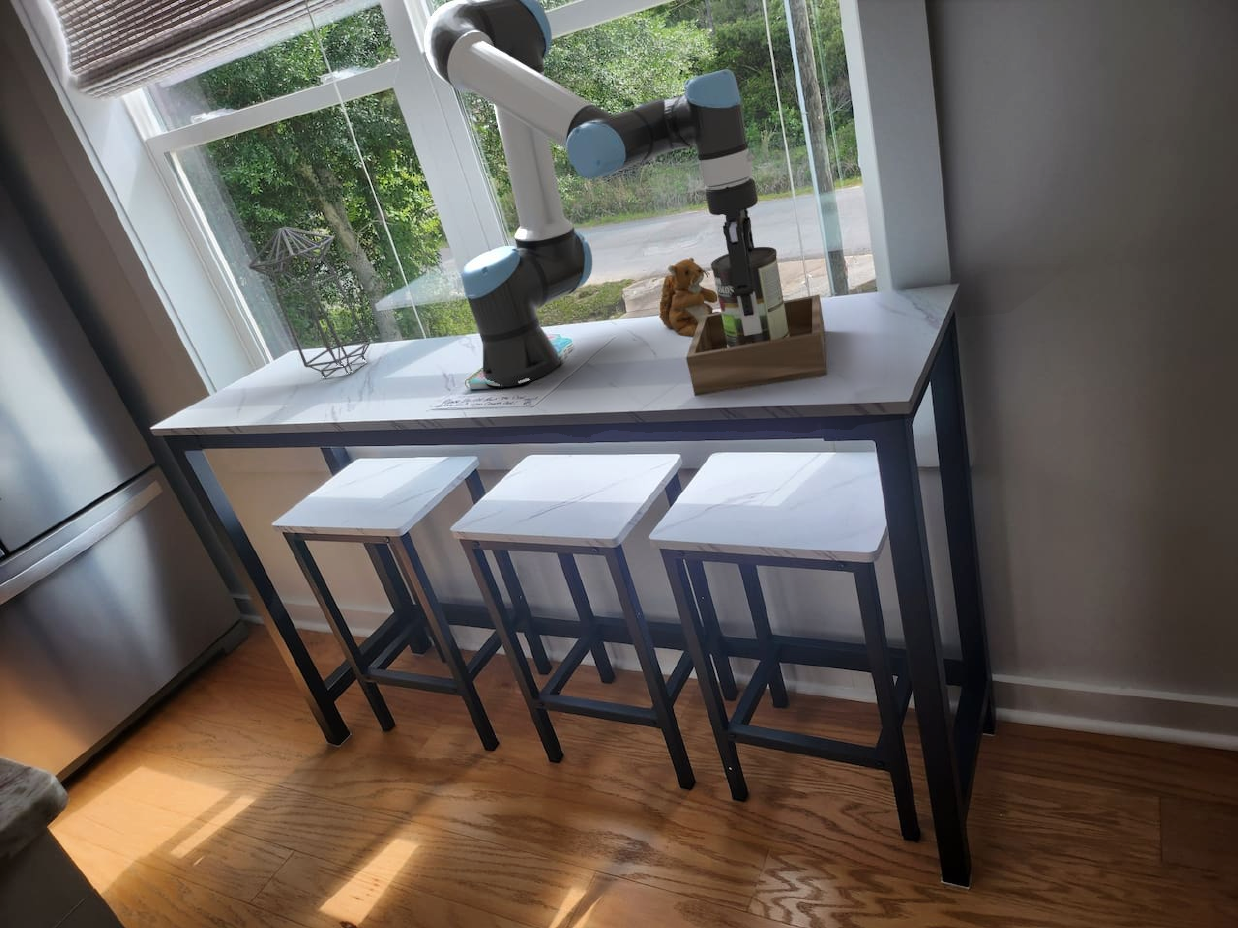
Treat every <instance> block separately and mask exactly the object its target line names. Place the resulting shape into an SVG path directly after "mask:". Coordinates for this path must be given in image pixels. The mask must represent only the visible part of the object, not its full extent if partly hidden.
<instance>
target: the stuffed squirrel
mask: <svg viewBox="0 0 1238 928" xmlns="http://www.w3.org/2000/svg"><path fill="white" fill-rule="evenodd" d="M694 261H695V259H694V257H690V258H688V259H687V258H685V259H682V260H680V261H679V262H677V263H675V264H674V265H669V266H668V267H667V269H668V270H667V271H669V272H670V274H667V275H666V276H664V281H663V282H664V283H663V285H662V288H661V292H662V294H661V301H660V302H659V312H660V313H659V316H658V318H659V319H660V320H661V321H662V323H663V325H665V326H666V327H667V328H670V329H674V331H675V332H676V334H678V335H681V336H685V337H686V336H687V337H694V334H695V331H696V329H697V326H698V323H699V320H700V318H701V316H704V315H709V314H715V313H720V312H721V311H714V312H713V309H714V308H713V307H712V306H711V305H710V304H711V303H712V304H714V303H716V302H718V295H717V292H716V291H714V290H712V289H708V288H706V287H704V286H701V285H700V284H701V283H702V282H703V281H704V278H705V275H706V278H709V276H710V275H711V274H710V273H709V272H708V271H707V270H705V269H703V268H702V267H701V266H700V265H698V263H696V262H694ZM706 302H708V303H710V304H708V303H706Z"/></svg>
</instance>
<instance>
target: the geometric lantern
mask: <svg viewBox="0 0 1238 928" xmlns="http://www.w3.org/2000/svg"><path fill="white" fill-rule="evenodd" d="M287 235H288V236H289V238H290V239H291V241H292V242H293V244H294V245H295V246H292V245H291V244H290V241H289V239H288V237H287ZM304 235H307V236H313V237H319V238H322V239H320V240H318V241H315V240H312V239H311V238H308V237H306V236H304ZM334 239H336V236H333V235H329V234H323V233H320V232H319V233H318V232H315V231H310V230H303V229H298V228H294V227H290V226H282V227H279V228H278V229H277V230H276V232H275V233H274V235H272V237H271V238H270V239H269V241H268V242H266V245H264V246H263V248H262V249H261V250H260V251H259V252H258V253H257V255H256V256H255V257H254V259H253V260H252V261H251V262H250V263H249V265H248V268H249V269H250V270H253V271H255V272H258V273H260V274H261V275H262V274H263V275H265V276H267V277H270V278H271V279H273V282H274V288H275V293H276V294H275V296H276V299H277V302H278V304H279V306H280V309H281V310H282V313H283V315H284V318H285V321H286V323H287V326H288V327H289V330H290V333H291V334H292V337H293V339H294V341H295V344H296V345H295V346H296V347H297V350H298V353H299V355H300V358H301V361H302V363H303V366H304V367H305V368H310V369H312V370H315V371H318V372H320V373H321V375H322V377H323V376H324V377H325V375H326V374H325V373H324V372H329V371H330V372H331V371H333V370H335V369H337V370H340V369H344V370H345V372H346V373H345V374H347V373H348V374H349V371H350V372H351V371H353V369H352V367H351V365H350V364H352V363H356V361H357V360H359V359H360V358H361V359H362V360H363V359H364V360H366V358H365V356H364V355H365V354H366V352H367V350H368V348H369V346H370V345H371V341H370V339H369V337H368V335H367V333H366V332H365V330H364V328H363V326H362V324H361V322H360V321H359V318H358V316H357V314H356V312H355V311H354V309H353V307H352V305H351V303H350V301H349V299H348V296H347V295H346V291H345V290H344V288H343V286H342V284H341V282H340V280H339V278H338V275H337V272H335V270H334V269H333V268H332V266H331V264H330V262H329V261H328V260H327V257H326V255H327V252H328V251H329V249H330V247H331V245H332V243H333V240H334ZM272 242H273V245H272V247H271V249H270V251H269V254H268V257H267V260H266V261H265V260H264V261H261V262H257V263H256V261H258V259H259V258H260V257H261V256H262V254H263V253H264V252H265V251H266V250H267V249H268V247H270V245H271V244H272ZM284 243H285V245H286V247H287V249H285V245H284ZM281 244H282V250H281V251H280V248H281ZM298 245H299V246H298ZM275 249H276V254H275V258H273V254H274V252H275ZM303 249H304V250H303ZM316 249H318V250H319V251H320V253H319V255H315V252H314V251H315V250H316ZM286 252H289V254H290V255H288V256H286V257H285V253H286ZM294 252H296V253H294ZM310 254H311V255H310ZM280 256H281V257H280ZM297 256H300V257H301V258H302V259H305V260H307V261H308V262H309V263H310V266H309V270H308V271H309V272H308V279H306V280H303V281H302V280H300V279H299V278H298V277H296V276H294V275H293V274H292V273H290V272H288V271H286V270H287V268H288V267H289V265H290V263H291V261H292V259H293V258H294V257H297ZM272 258H273V259H272ZM285 261H287V262H286V263H285V265H284V262H285ZM321 261H322V262H323V263H324V265H325V266H326V267H327V269H328V271H330V274H326V275H321V276H318V277H314V278H313V276H314V270H315V265H317V264H318V263H319V264H320V263H321ZM273 265H274V266H275V267H276V269H275V270H274V269H273V267H272V266H273ZM263 267H266V268H263ZM278 272H279V273H278ZM275 273H276V274H275ZM282 275H284V276H285V277H286V278H288V279H289V280H290V281H292V282H293V284H295V285H293V286H290V287H289V288H287V289H284V290H283V291H281V292H280V289H279V285H278V282H277V281H278V280H277V278H278V277H281V276H282ZM326 277H327V278H326ZM324 278H325V279H324ZM319 279H324V280H321V281H319V282H317V283H315V284H312V281H315V280H319ZM331 279H333V280H334V281H335V283H336V285H337V287H338V289H339V291H340V293H341V295H342V296H343V298H344V300H345V302H346V305H347V306H348V308H349V310H350V312H351V314H352V316H353V318H354V320H355V322H356V325H357V326H358V329H359V330H360V332H361V336H362V337H363V339H361V340H357V341H353V342H348V343H344V344H343V343H342V342H341V340H340V339H339V336H338V334H337V333H336V330H335V329H334V327H333V325H332V322H331V320H330V318H329V316H328V315H327V312H326V310H325V308H324V307H323V305H322V303H321V300H320V298H319V297H318V295H317V293H316V290H315V289H314V287H317V286H319V285H321V284H323V283H325V282H327V281H329V280H331ZM306 283H308V287H306V286H305V285H304V284H306ZM295 287H300V289H297V290H293V291H290V290H292V289H294V288H295ZM305 287H306V288H305ZM309 290H310V291H311V292H312V294H313V296H314V297H315V301H316V302H317V304H318V306H319V309H320V311H321V313H322V316H323V317H324V320H325V321H326V324H327V326H328V328H329V331H330V332H331V335H332V337H333V339H334V342H335V344H336V346H335V345H334V346H333V347H331V344H330V342H329V340H328V338H327V336H326V333H325V331H324V328H323V326H322V324H321V323H320V320H319V317H318V315H317V313H316V311H315V309H314V306H313V304H312V301H311V299H310V298H309V294H308V292H307V291H309ZM288 291H289V292H288ZM300 292H303V294H304V295H305V298H306V300H307V303H308V306H309V308H310V311H311V313H312V316H313V318H314V320H315V323H316V326H317V329H318V331H319V333H320V334H319V335H320V336H321V339H322V342H323V343H324V347H325V350H323V351H322V352H321V353H319V354H318V355H316V356H315V357H313V358H311V359H310V360H309V361H307V360H306V358H305V356H304V353H303V351H302V347H301V346H300V343H299V341H298V338H297V336H296V333H295V331H294V327H293V326H292V322H291V320H290V316H289V314H288V311H287V309H286V306H285V303H284V300H283V298H282V296H286V295H291V294H295V293H300ZM361 343H362V345H361V346H359V347H358V348H356V349H355V350H353V351H351V352H349V353H348V354H347V352H346V350H345V348H344V347H347V346H353V345H358V344H361ZM363 343H364V344H363ZM335 349H338V350H337V351H338V353H337V354H338V358H337V359H336V356H335V354H334V352H333V350H335ZM360 350H361V352H360V353H357V352H359V351H360ZM341 351H342V353H343V355H344V356H342V357H341ZM327 353H329V354H330V356H331V358H332V359H333V360H330V361H324V362H319V363H318V362H317V363H313V362H314V361H315V360H317V359H318V358H320V357H322V356H324V354H327ZM355 353H357V354H355ZM357 356H358V357H357ZM354 357H356V358H355V359H353V360H352V361H351V362H350V361H349V359H350V358H354ZM345 359H346V364H347V365H346V366H344V363H343V362H342V361H344V360H345ZM311 363H312V364H311ZM341 363H342V364H341ZM333 364H335V365H336V367H332V368H329V367H330V366H332V365H333ZM338 364H339V365H338ZM324 365H326V366H324ZM337 365H338V366H343V367H337ZM317 366H324V367H323V368H322V369H319V368H317ZM347 368H349V371H348V370H347ZM335 371H336V370H335Z"/></svg>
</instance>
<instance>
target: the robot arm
mask: <svg viewBox="0 0 1238 928" xmlns="http://www.w3.org/2000/svg"><path fill="white" fill-rule="evenodd" d="M552 37H553V35H552V28H551V24H550V21H549V18H548V16H547V13H546V11H545V10H544V8H543V7H542V6H541V4H540V3H539V1H537V0H451V1H448V2H446V3H444V4H443V5H442V6H440V7H439V8H437V9H436V11H434V12H433V14H432V16H431V17H430V19H428V23H427V25H426V28H425V33H424V41H423V42H424V50H425V54H426V58H427V60H428V62H429V64H430V66H431V67H432V70H433V71H434V72H435V74H436V75H437V76H438V77H439V78H440V79H441V80H442V81H444V82H445V83H446V84H448V85H449V86H451V87H453V88H454V89H455V90H456V91H459V92H461V93H465V94H471V93H474V94H476V95H478V96H479V97H481V98H483V99H484V100H486V101H487V102H489V103H491V104H492V105H493V107H494V108H493V109H494V112H495V117H496V121H497V125H498V131H499V135H500V139H501V144H502V149H503V154H504V158H505V162H506V166H507V171H508V172H507V173H508V177H509V180H510V185H511V191H512V195H513V198H514V203H515V208H516V212H517V217H518V221H519V227H518V229H517V230H516V232H515V234H514V240H515V244H516V246H513V245H504V246H500V247H496V248H494V249H492V250H491V251H486V252H484V253H482V254H480V255H477V256H476V257H475V258H473V259H472V260H471V261H469V262H468V263H466V264H465V266H464V267H463V269H462V271H461V280H462V281H461V282H462V285H463V289H464V294H465V296H466V298H467V300H468V304H469V307H470V309H471V313H472V316H473V318H474V322H475V325H476V328H477V331H478V335H479V336H480V339H481V343H482V375H483V378H484V377H485V378H486V379H487V380H490V381H494V382H495V383H498V384H500V387H499V388H507V387H514V386H519V385H520V384H519V383H518V381H520V380H523V379H525V378H529V379H530V380H531V381H530V382H532V381H535V380H537V379H540V378H542V377H544V376H546V375H548V374H550V373H551V372H553V371H554V370H555V369H557V368H558V367H559V365H560V363H561V360H559V359H560V357H559V352H558V350H557V348H556V347H555V346H554V344H553V343H552V341H551V340H550V338H549V337H548V336H547V334H546V333H545V331H544V329H543V328H542V326H541V324H540V321H539V317H538V313H537V309H539V308H541V307H543V306H545V305H547V304H549V303H552V302H554V301H555V300H559V299H560V298H562V297H565V296H568V295H571V294H573V293H574V292H575V291H576V290H578V289H579V288H581V287H583V286H584V285H585V284H586V283H587V281H588V279H589V278H590V275H591V274H592V269H593V255H592V251H591V247H590V244H589V243H588V241H585V240H586V239H585V236H584V235H583V234H582V233H581V232H580V231H578V230H576V229H575V225H574V223H573V222H571V221H570V220H569V219H567V218H566V217H565V216H564V211H563V206H562V201H561V195H560V191H559V190H560V189H559V185H558V180H557V176H556V175H557V174H556V170H555V164H554V160H553V154H552V148H551V144H550V143H551V142H550V140H551V141H552V142H553V143H556V144H557V145H558V146H560V147H562V148H564V149H565V150H566V155H567V159H568V161H569V163H570V165H571V166H572V167H573V168H574V170H575V172H576V173H577V174H578V175H579V176H581V177H582V178H585V179H590V180H594V179H597V178H601V177H608V176H610V175H613V174H616V173H617V172H619V171H622V170H624V169H628V168H630V167H632V166H634V165H636V164H639V163H641V162H642V163H643V162H644V161H647V160H650V159H653V158H655V157H658V156H661V155H663V154H664V155H665V154H666V153H669V152H672V151H675V150H681V149H687V148H693V147H695V149H696V153H697V154H696V155H697V157H698V158H697V159H698V166H699V170H700V174H701V181H702V185H703V186H704V187H706V188H707V189H706V190H705V192H704V193H705V198H706V202H707V208H708V212H709V213H710V214H711V215H713V216H721V215H724V216H725V222H723V224H724V225H723V226H722V229H723V235H724V236H725V240H726V249H727V252H728V253H727V254H729V260H730V266H731V273H732V279H733V285H734V292H731V295H732V297H737V300H738V305H739V310H740V315H741V320H742V325H743V330H744V335H745V336H747V335H753V334H758V333H762V328H761V323H760V317H759V312H758V306H757V301H756V296H755V291H754V289H753V287H752V279H751V274H750V269H749V266H748V264H749V255H748V252H749V251H752V248H755V244H754V239H753V231H752V222H751V216H749V211H748V209H750V208H752V207H754V206H755V205H756V204H758V200H759V199H758V193H757V187H756V181H755V180H754V179H753V178H752V177H751V176H752V175H753V173H754V172H753V166H752V161H755V154H754V153H749V152H750V150H749V145H748V144H749V143H748V140H747V135H746V127H745V122H744V121H745V120H744V114H743V113H744V112H743V105H742V97H741V95H740V91H739V87H738V82H737V80H736V79H737V78H736V76H735V73H734V72H733V71H732V70H730V69H720V70H716V71H714V72H709V73H705V74H701V75H697V76H694V77H691V78H688V79H686V81H685V82H684V86H683V87H684V94H682V95H677V96H672V97H671V96H670V97H666V98H661V99H652V100H650V101H646V102H643V103H642V104H638V105H636V106H635V107H634V108H631V109H628V110H624V111H622V112H621V111H620V112H618V113H614V114H613V113H609V112H607V111H606V110H604V109H602V108H601V107H598V106H597V105H595V104H593V103H591V102H590V101H588V100H586V99H584V98H583V97H581V96H579V95H578V94H576V93H575V92H573V91H570V90H569V89H567V88H566V87H564V86H562V85H560V84H559V83H557V82H555V81H553V80H552V79H550V78H548V77H547V76H545V67H544V62H543V60H544V59H545V58H546V57H547V56H548V55H549V53H550V50H551V48H550V47H551V46H552V41H553V38H552ZM740 285H746V286H741V287H739V286H740ZM485 378H484V379H485ZM501 385H502V387H501ZM504 386H505V387H504Z"/></svg>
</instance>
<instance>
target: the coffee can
mask: <svg viewBox="0 0 1238 928" xmlns="http://www.w3.org/2000/svg"><path fill="white" fill-rule="evenodd" d="M748 255H749V264H748V266H749V269H750V274H751V279H752V287H753V289H754V291H755V296H756V301H757V306H758V312H759V317H760V323H761V328H762V333H758V334H753V335H747V336H745V335H744V330H743V325H742V320H741V315H740V310H739V305H738V300H737V297H732V295H731V292H734V285H733V279H732V273H731V266H730V260H729V254H728V253H725V254H724V255H721V256H719V257H717V258H715V259H714V260H712V262H711V263H710V268H711V270H712V274H713V279H714V284H715V289H716V294H717V300H718V302H719V303H718V304H719V308H720V312H721V314H722V319H723V324H724V329H725V335H726V340H727V347H728V348H729V347H735V346H741V345H747V344H752V343H758V342H764V341H770V340H776V339H782V338H788V337H789V336H790V334H789V331H788V325H787V319H786V313H785V307H784V301H785V300H784V296H783V290H782V282H781V277H780V270H779V264H778V258H777V250H776V248H774V247H770V246H759V247H757V246H756V247H754V248H752V251H749V252H748ZM741 286H746V285H740V286H739V287H741Z"/></svg>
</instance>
